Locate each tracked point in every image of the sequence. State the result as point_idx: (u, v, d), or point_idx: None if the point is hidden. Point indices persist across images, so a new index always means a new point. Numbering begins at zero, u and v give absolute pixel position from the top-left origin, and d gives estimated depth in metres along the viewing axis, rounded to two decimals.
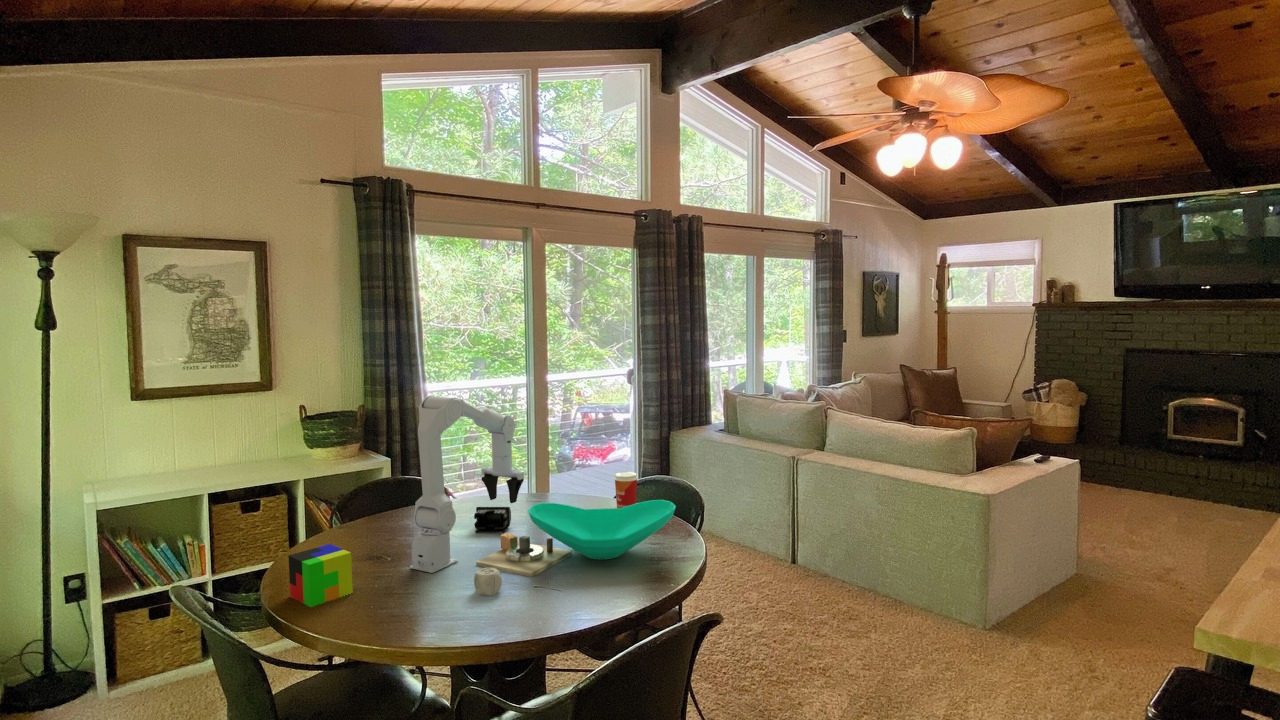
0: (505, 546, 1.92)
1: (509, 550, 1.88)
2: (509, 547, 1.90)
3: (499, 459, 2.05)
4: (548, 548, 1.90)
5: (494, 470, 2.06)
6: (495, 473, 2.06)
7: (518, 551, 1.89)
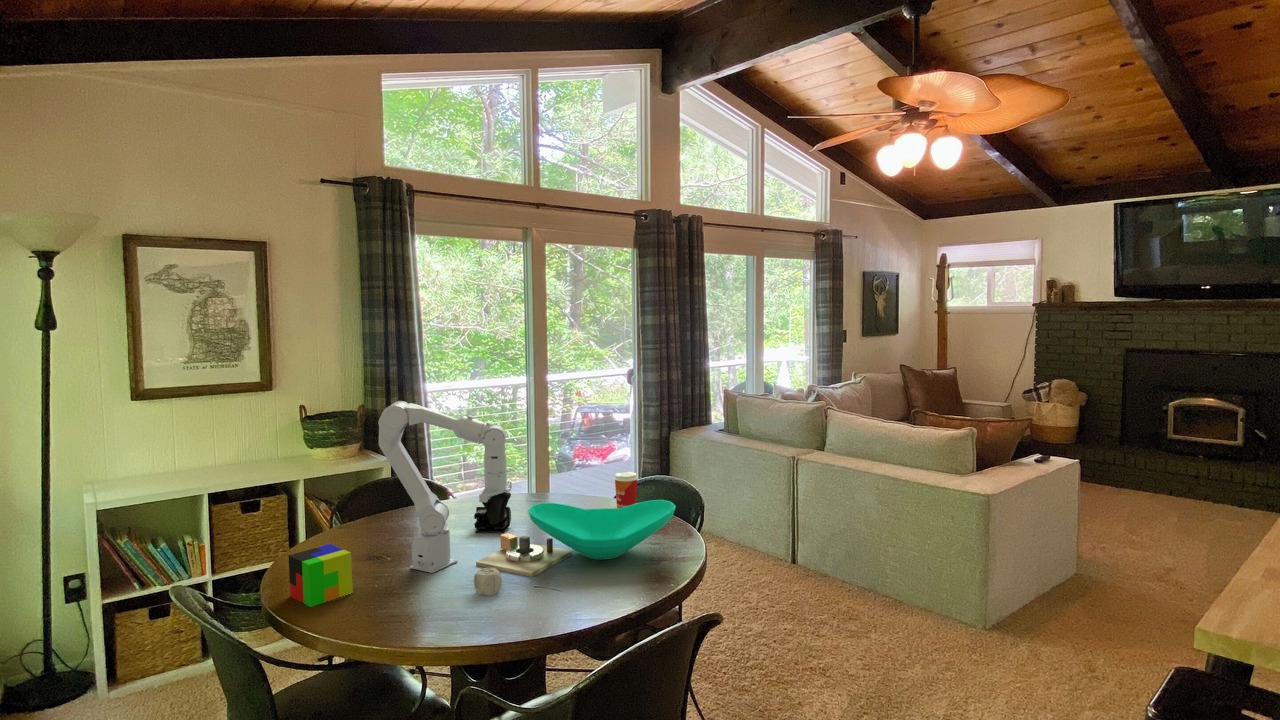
0: (505, 546, 1.92)
1: (509, 550, 1.88)
2: (509, 547, 1.90)
3: None
4: (548, 548, 1.90)
5: None
6: None
7: (518, 551, 1.89)
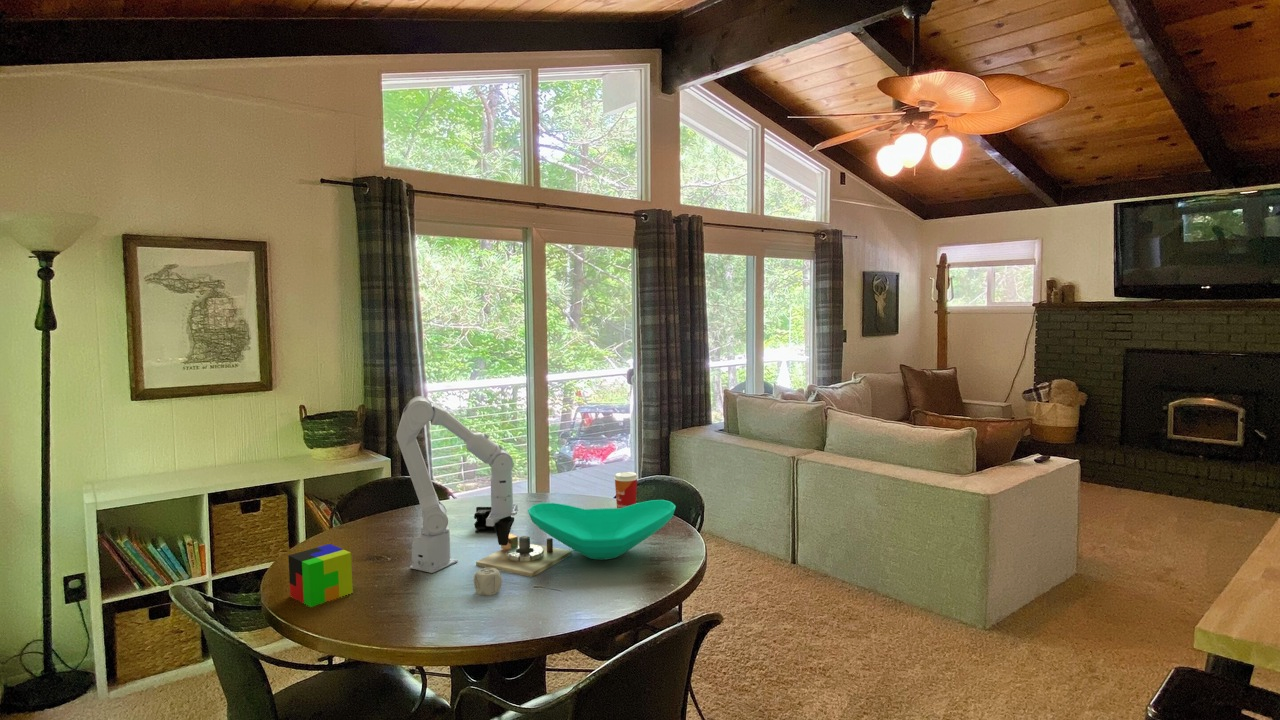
0: (505, 546, 1.92)
1: (509, 550, 1.88)
2: (509, 547, 1.91)
3: (491, 497, 1.89)
4: (548, 548, 1.90)
5: None
6: None
7: (518, 551, 1.89)
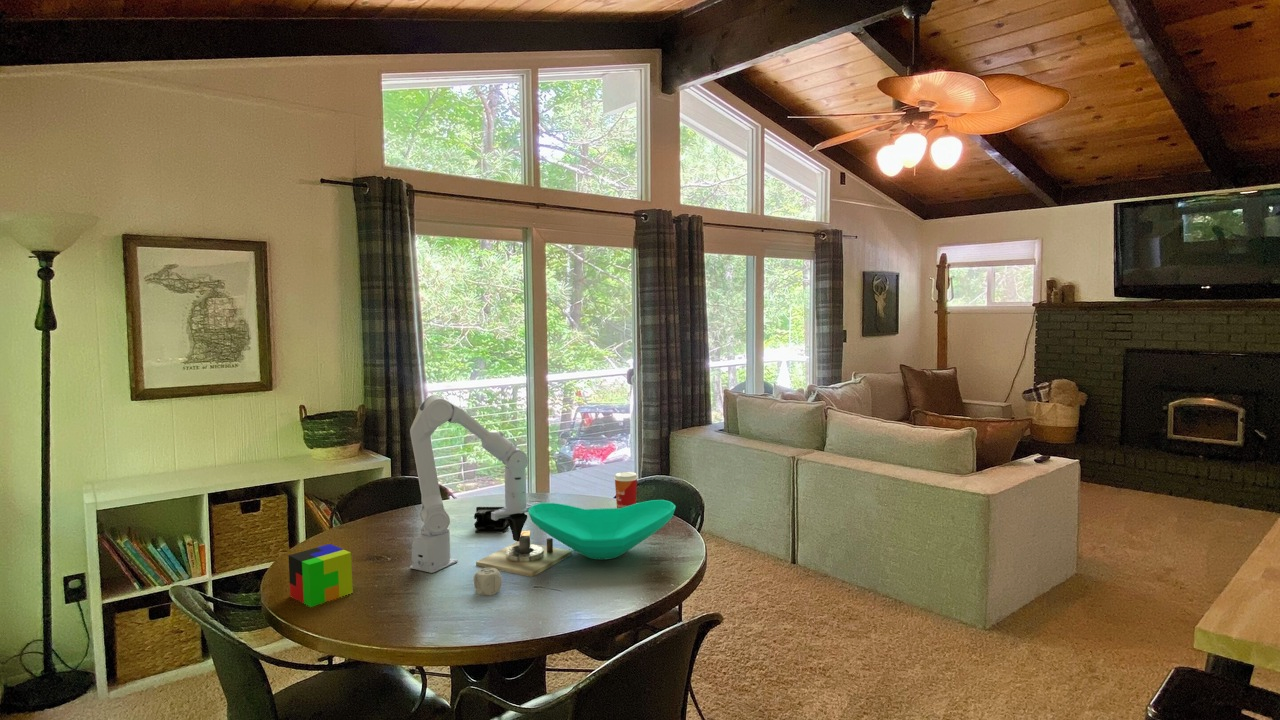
0: None
1: (515, 547, 1.91)
2: None
3: None
4: (548, 548, 1.90)
5: None
6: None
7: None
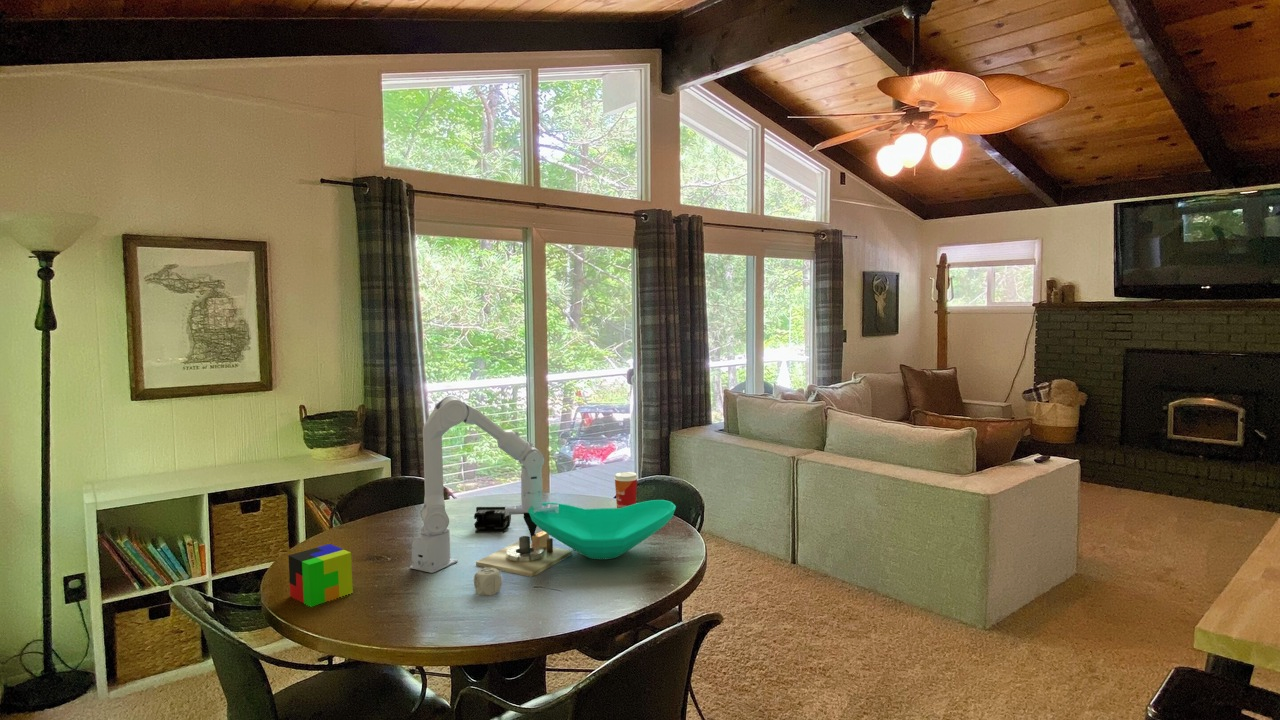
0: None
1: None
2: None
3: None
4: (548, 548, 1.90)
5: None
6: None
7: None
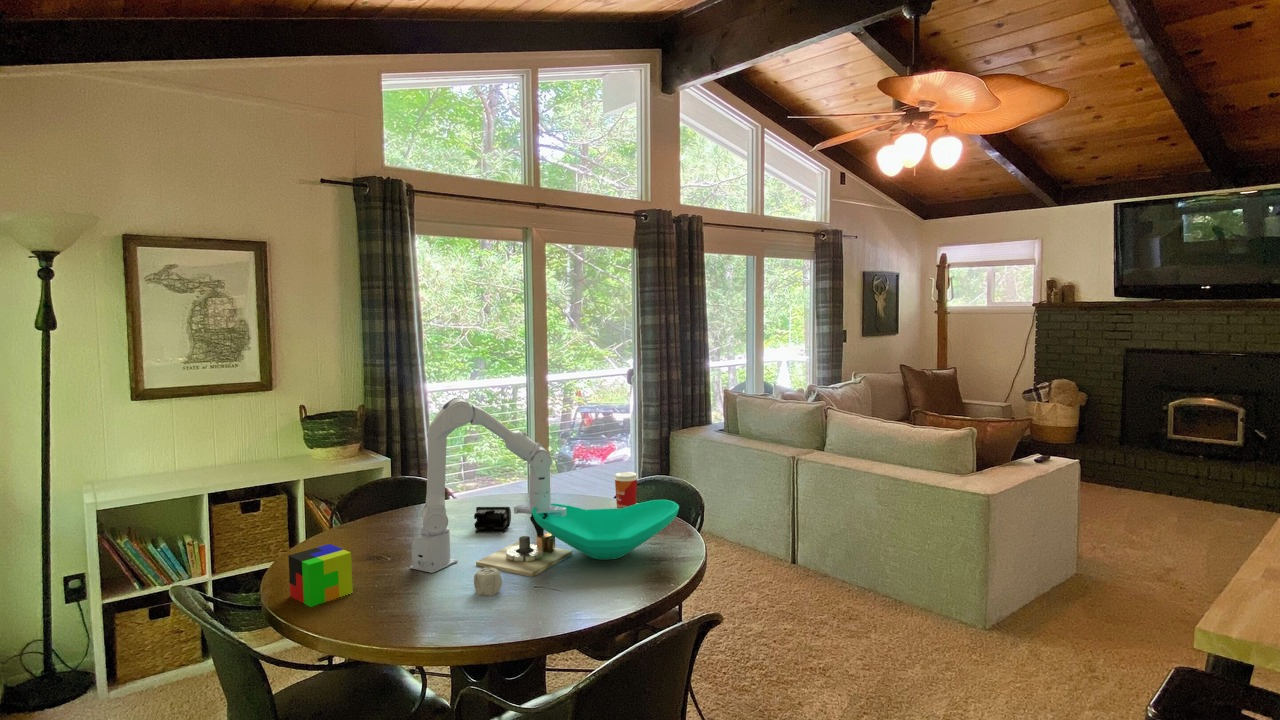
0: None
1: None
2: None
3: None
4: (548, 548, 1.90)
5: None
6: None
7: (531, 550, 1.90)
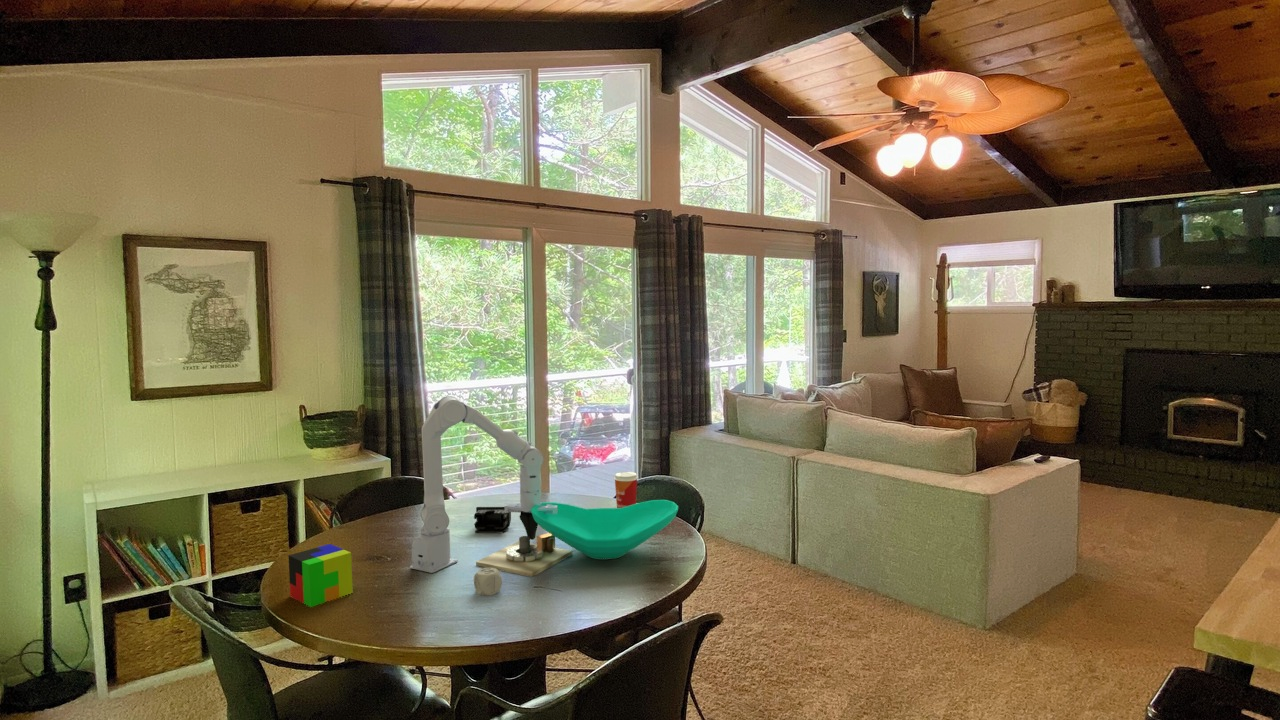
0: None
1: None
2: None
3: None
4: (548, 548, 1.90)
5: None
6: None
7: (531, 550, 1.90)
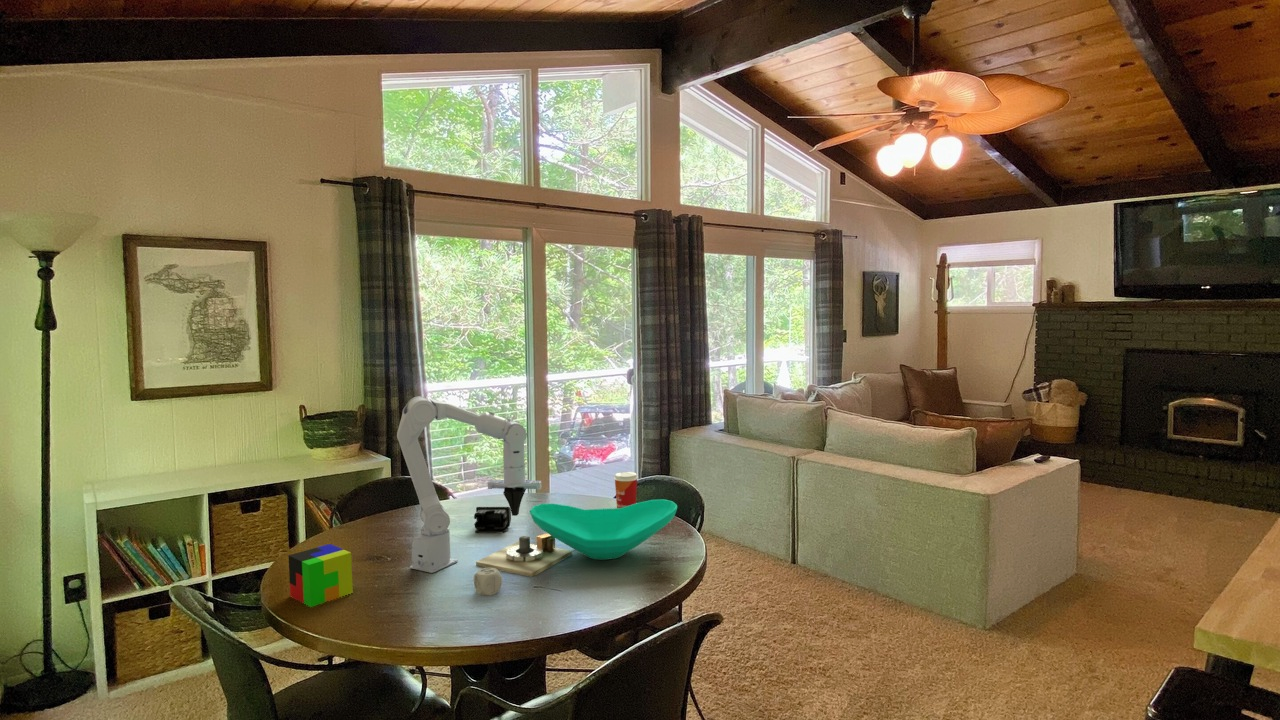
0: None
1: None
2: None
3: None
4: (548, 548, 1.90)
5: None
6: None
7: (531, 550, 1.90)
